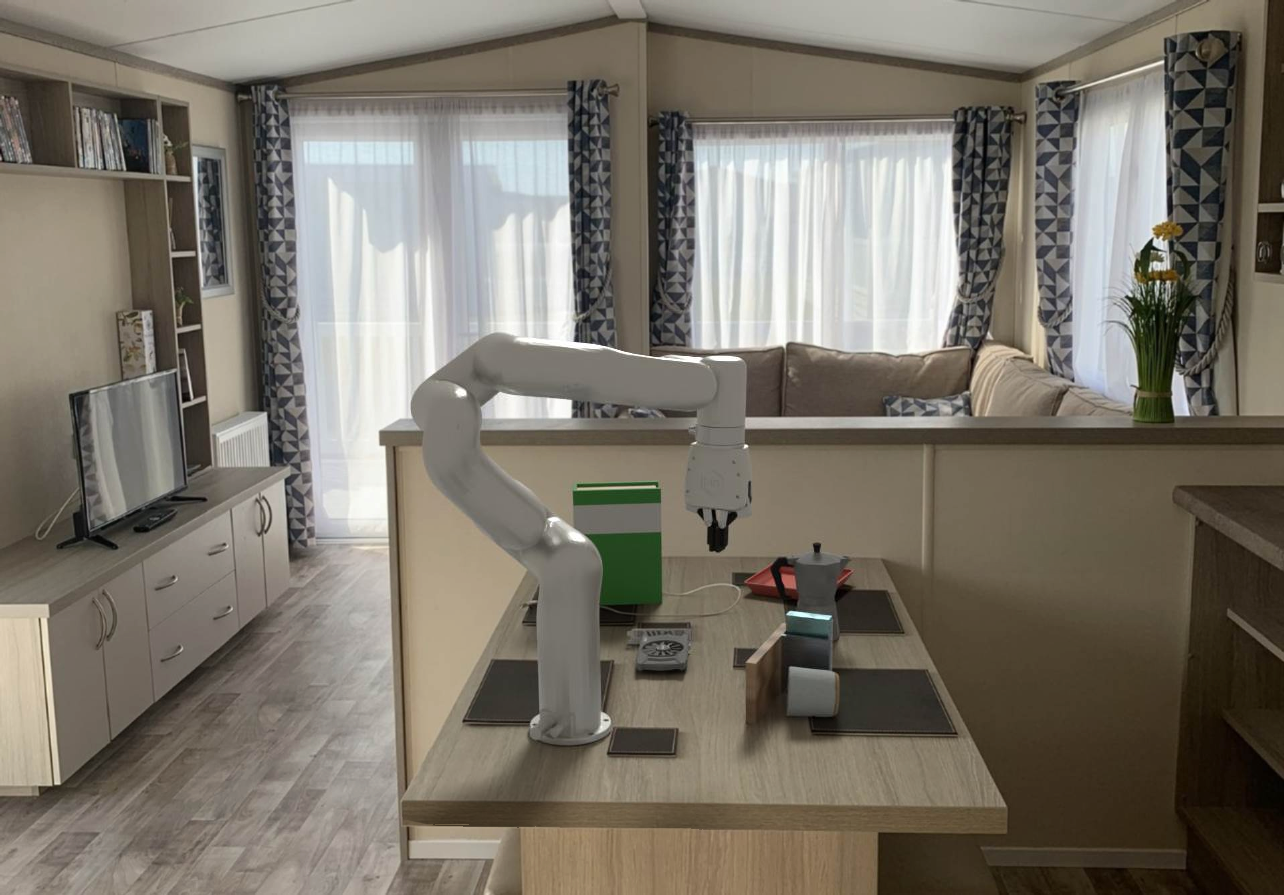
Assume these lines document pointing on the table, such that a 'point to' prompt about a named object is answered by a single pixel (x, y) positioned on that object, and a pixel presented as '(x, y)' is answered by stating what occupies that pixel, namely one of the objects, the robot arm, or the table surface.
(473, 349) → the robot arm
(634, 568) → the hardback book
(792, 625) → the bookend and books
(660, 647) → the graphics card
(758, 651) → the wooden board
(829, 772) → the table surface
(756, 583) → the plant saucer
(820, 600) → the coffeepot
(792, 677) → the ceramic mug
